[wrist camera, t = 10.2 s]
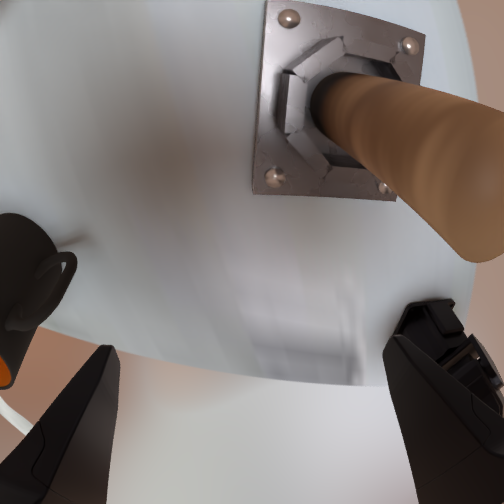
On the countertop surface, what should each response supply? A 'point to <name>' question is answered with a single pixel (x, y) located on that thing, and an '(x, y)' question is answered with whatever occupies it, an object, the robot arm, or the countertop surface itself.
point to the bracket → (301, 89)
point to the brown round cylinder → (423, 153)
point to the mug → (27, 288)
